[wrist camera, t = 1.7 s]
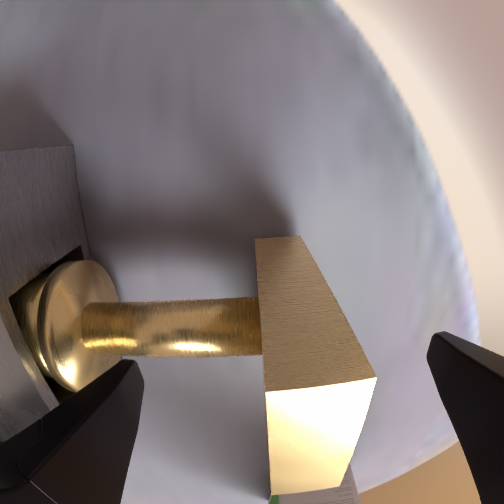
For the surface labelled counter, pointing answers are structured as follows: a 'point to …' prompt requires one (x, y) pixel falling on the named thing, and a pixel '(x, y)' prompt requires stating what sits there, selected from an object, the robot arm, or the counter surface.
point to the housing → (33, 267)
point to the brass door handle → (222, 349)
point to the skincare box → (323, 494)
